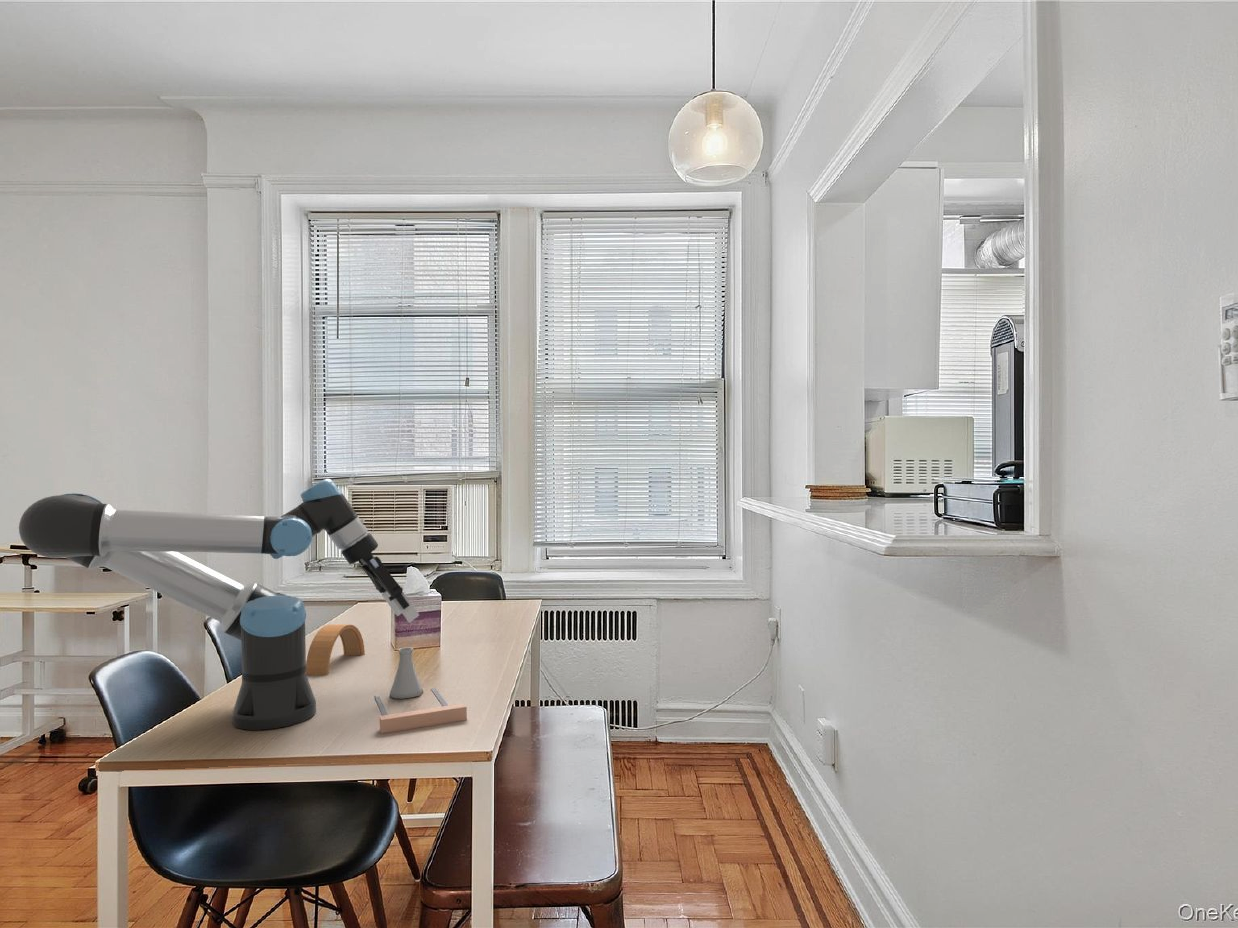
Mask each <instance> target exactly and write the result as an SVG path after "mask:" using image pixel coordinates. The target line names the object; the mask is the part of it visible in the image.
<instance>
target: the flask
mask: <svg viewBox="0 0 1238 928" xmlns="http://www.w3.org/2000/svg"><path fill="white" fill-rule="evenodd" d="M397 652H398V654H399V662H398V668H397V670H396V675H395V678H394V681H393V683H392V686H391V688H390V692H389V695H388V696H389V697H391V698H392V699H395V700H396V699H397V700H398V699H409V698H410V699H411V698H415V697H419V696H422V694H423V693H424V689H423V687H422V684H421V681H420V680H419V679H420V678H419V677H418V673H417V672H416V669H415V666H414V660H413V652H414V648H413V647H412V646H411V647H409V646H408V647H402V648H399V649H398V650H397Z"/></svg>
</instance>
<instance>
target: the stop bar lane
mask: <svg viewBox="0 0 1238 928" xmlns="http://www.w3.org/2000/svg"><path fill="white" fill-rule="evenodd" d="M430 690H431V691H432V693H433V694H434V696H435V697H436V699H437V700H438V701H439V703H440V704H441V705H442V706H437V707H429V708H423V709H418V710H411V711H405V712H397V713H392V714H388V711H387V709H386V707H385V705H384V703H383V701H382V699H381V696H379V695H377V696H374V699H375V701H376V703H377V706H378V708H379V710H380V712H381V715H379V731H380V733H381V734H386V733H392V732H399V731H405V730H412V729H416V728H417V729H418V728H423V727H429V726H430V727H431V726H436V725H442V724H448V723H453V722H460V721H466V720H468V719H467V718H468V717H467V715H468V712H467V709H468V708H467V705H466V704H465V703H457V704H448V703H447V702H446V701H445V699H444V698H443V696H442V695H441V694H440V692H439V691H438V690H437V688H436V687H435V688H430Z"/></svg>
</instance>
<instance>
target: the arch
mask: <svg viewBox="0 0 1238 928" xmlns="http://www.w3.org/2000/svg"><path fill="white" fill-rule="evenodd" d="M338 638H340V641H341V644H342V648H343V649H342V650H343V655H344V656H364V655H365V651H366V650H365V645H364V638H363V636H362V633H361V632H360V630H359V628H358V627H356V626H355V625H354V624H326V625H323V626H322V627H321V628H320V629H319V630H317V632H316V634H315V635H314V637H313V639H312V641H311V643H310V646H309V648H308V652H307V655H306V676H308V675H310V676H311V675H313V676H315V675H317V676H320V675H321V676H323V675H324V676H328V675H329V674H330V661H331V656H332V652H333V648H334V646H335V643H336V640H337V639H338Z"/></svg>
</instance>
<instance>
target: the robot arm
mask: <svg viewBox="0 0 1238 928" xmlns="http://www.w3.org/2000/svg"><path fill="white" fill-rule="evenodd" d="M300 498H301V499H302V502H301V503H300V504H299V505H297V506H296V507H293V509H290V510H289V511H288V512H286V513H285V514H283V515H281V516H261V515H260V516H259V515H241V514H240V515H238V514H216V513H197V512H196V513H195V512H176V511H175V512H172V511H152V510H151V511H150V510H133V509H132V510H131V509H130V510H127V509H116V508H114V507H113V505H111V504H110V503H103V502H102V501H100V500H99V499H97V498H96V497H94V496H91V495H88V494H83V493H75V492H73V493H65V494H61V495H51V496H48V497H47V496H46V497H43V498H41V499H38V500H37V501H35V502H34V503H32V504H31V505H29V506H28V508H26V509H25V511H24V512H23V514H22V515H21V518H20V521H19V523H18V533H19V537H20V539H21V541H22V542H23V544H24V545H25V546H26V548H27V549H28V550H30V551H31V552H32V553H34V554H37V555H39V556H41V557H44V558H50V559H63V558H64V559H68V560H70V561H71V562H74V563H75V564H78V565H80V566H82V567H84V568H87V569H89V570H94V569H97V568H106V569H109V570H111V571H113V572H114V573H117V574H119V575H121V576H122V577H125V578H127V579H130V581H133V582H136V583H137V584H140V585H142V586H143V587H146V588H148V589H150V590H153V591H154V592H157V593H159V594H160V595H163V596H164V597H167V598H169V599H171V600H173V601H175V602H177V603H179V604H182V605H184V606H186V607H187V608H189V609H192V610H194V611H196V612H199V613H201V614H203V615H204V616H206V617H209V618H211V619H213V620H215V621H217V622H219V624H220V627H221V630H222V632H223V633H224V634H227V635H228V636H231V637H233V638H236V639H237V640H240V641H241V643H240V644H241V686H240V687H239V692H238V693H237V694H238V695H237V698H236V700H235V704H234V706H233V710H232V715H231V716H232V719H231V720H232V722H231V723H232V725H233V727H234V728H236V729H241V730H247V731H248V730H249V731H259V730H260V731H262V730H263V731H264V730H272V729H278V728H284V727H288V726H292V725H295V724H298V723H301V722H304V721H307V720H309V719H310V718H312V717H313V716H314V715H315V714H317V713H316V712H317V703H316V702H317V701H316V698H315V695H314V692H313V690H312V686H311V684H310V682H309V679H308V675H306V661H307V653H306V650H307V649H306V648H307V647H306V646H307V645H306V644H307V643H306V618H307V611H306V607H305V603H304V601H303V600H302V599H301V598H300V597H297V596H291V595H286V594H285V593H280V592H275V591H273V590H272V589H268V588H267V587H265V586H263V585H261V584H259V583H257V582H253V583H249V584H243V583H240V582H238V581H237V580H235V579H233V578H230V577H228V576H226V575H225V574H223V573H221V572H219V571H216V570H215V569H212V568H211V567H208V566H207V565H205V564H203V563H200V562H198V561H196V560H195V559H193V558H190V557H188V556H186V555H185V554H182V553H207V554H208V553H211V554H212V553H213V554H215V553H216V554H217V553H218V554H257V555H258V554H263V555H270V556H271V557H272V558H273V559H274V560H278V559H281V558H282V557H296V556H298V555H301V554H303V553H304V552H306V550H307V549H308V548H309V546H310V545H311V542H312V541H313V537H315V536H317V535H318V534H320V533H321V532H322V531H325V532H326V533H327V534H328V537H329V538H330V540H331V541H332V542H333V543H334V545H335V547H336V548H337V549H338V550H342V551H341V554H342V556H343V557H344V559H345V560H346V561H347V563H348V564H350V565H353V564H355V563H358V564H360V565H361V570H362V571H363V572H364V573H365V574H366V575H367V577H368V578H369V579H370V581H371V582H372V583H373V586H374V587H375V589H376V591H378V593H380V594H381V596H382V597H383V598H384V600H385V601H386V603H387V604H388V605H389V607H390V608H391V610H392V611H393V612H394V614H395V616H396V617H399V616H400V615H403V617H404V618H405V619H406V621H407V622H408V623H411V622H413V621H414V620H415V619H417V618H418V617H419V616H420V614H419V612H418V611H417V609H416V608H415V607H414V605H413V604H412V602H411V601H410V600H409V598H408V597H407V595H406V594H405V592H403V591H404V590H403V588H402V586H400V585H399V583H398V581H396V579H395V578H394V577H393V575H391V573H390V571H388V570H387V568H386V566H385V565H384V564H383V562H382V560H381V558H380V557H378V556H377V555H376V556H374V555H373V554H372V552H374V551H375V550H376V549H377V548H378V547H379V543H378V542H377V539H375V538H374V536H373V535H372V534H371V533H368V527H366V525H365V524H364V523H365V522H366V521H365V519H364V518H361V519H360V517H359V516H358V513H356V511H355V510H354V508H353V507H352V505H351V503H349V501H348V499H347V498H346V496H345V495H344V494H343V492H342V490H341V489H340V488H339V487H338V486H337V484H335V482H334V481H333V480H332V479H330V478H323V479H322V480H320V481H319V482H317V483H315V484H314V485H312V486H311V487H310V488H308V489H306V490H304V491H303V492H301V494H300Z"/></svg>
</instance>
